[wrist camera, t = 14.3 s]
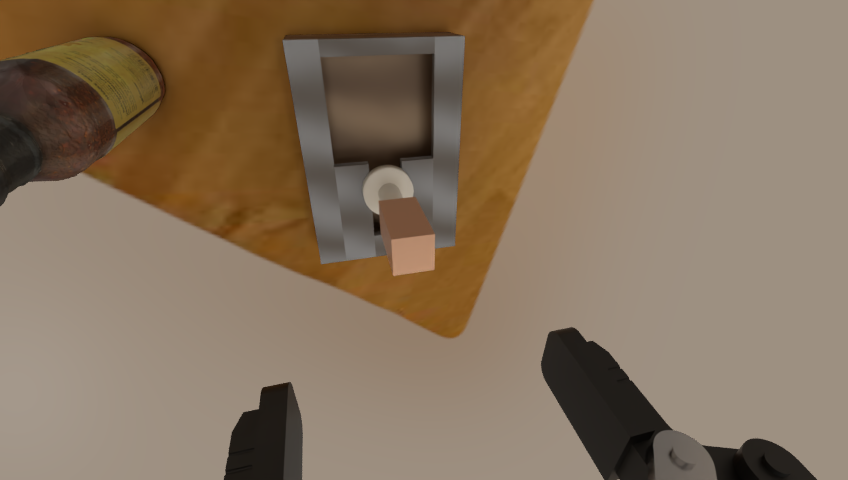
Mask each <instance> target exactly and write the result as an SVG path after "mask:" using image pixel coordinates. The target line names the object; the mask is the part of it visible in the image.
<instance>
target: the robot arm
mask: <svg viewBox="0 0 848 480" xmlns="http://www.w3.org/2000/svg"><path fill="white" fill-rule="evenodd" d="M541 368H542V373H543V376H544V378H545V381H546V382H547V384H548V386H549V388H550V389H551V391H552V393H553V394H554V396H555V397H556V399H557V401H558V403H559V404H560V406H561V408H562V409H563V411H564V413H565V414H566V416H567V418H568V420H569V421H570V423H571V425H572V426H573V428H574V430H575V431H576V433H577V434H578V436H579V438H580V440H581V441H582V443H583V445H584V446H585V448H586V450H587V451H588V453H589V455H590V456H591V458H592V460H593V461H594V463H595V465H596V467H597V468H598V470H599V472H600V473H601V475H602V476H603V478H604V480H617V479H620V480H817V479H816V478H815V477H814V476H813V475H812V474H811V473H810V472H809V471H808V470H807V469H806V468H805V467H804V466H803V465H802V463H800V461H799V460H797V459H796V458H795V457H794V456H793V455H792V454H791V453H790V452H788V451H786V450H785V449H784V448H782V447H780V446H779V445H777V444H775V443H773V442H770V441H767V440H763V439H750V440H747V441H746V442H745V443H744V444H743V445H742V446H741V448H740V449H731V448H721V447H711V446H703V445H701V444H700V443H698V442H697V441H696V440H695V439H693V438H691V437H690V436H688V435H686V434H684V433H681V432H678V431H673V430H672V429H671V428H670V427H669V426H668V425H667V424H666V422H665V421H664V420H663V419H662V417H661V416H660V415H659V414H658V413H657V411H656V410H655V409H654V408H653V406H652V405H651V404H650V403H649V402H648V400H647V399H646V398H645V397H644V395H643V394H642V393H641V392H640V391H639V389H638V388H637V387H636V386H635V384H634V383H633V382H632V381H630V380H629V377H628V376H627V374H626V373H625V372H624V371H623V370H622V369H620V367H619V365H618V363H617V362H616V361H615V360H614V358H613V357H612V356H611V355H610V353H609V352H607V351H606V350H605V349H603V348H602V347H600V346H599V345H598V344H596V343H595V342H593V341H589V342H586V340H585V339H584V338H583V337H582V335H581V334H580V333H579V331H578V330H576V329H575V328H572V327H571V328H566V329H561V330H556V331H551V332H550V333H549V334H548V338H547V341H546V345H545V350H544V353H543V357H542V361H541ZM302 434H303V433H302V420H301V414H300V410H299V407H298V403H297V400H296V397H295V393H294V390H293V387H292V384H291V382H288V383H283V384H278V385H273V386H268V387H263V388H262V391H261V396H260V405H259V409H258V410H253V411H248V412H244V413H243V414H242V416H241V417H240V419H239V421H238V423H237V425H236V426H235V428H234V430H233V432H232V435H231V441H230V447H229V457H228V459H227V464H226V470H225V471H226V475H225V476H224V480H302V438H303V437H302V436H303V435H302Z"/></svg>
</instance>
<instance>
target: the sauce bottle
mask: <svg viewBox="0 0 848 480" xmlns="http://www.w3.org/2000/svg"><path fill="white" fill-rule="evenodd" d="M164 92H165V88H164V81H163V79H162V75H161V74H160V72H159V70H158V68H157V67H156V65H155V63H154V62H153V60H152V59H151V58H150V57H149V56H148V55H146V54H145V53H144V52H143V51H142V50H140V49H138V48H137V47H136V46H134V45H132V44H130V43H128V42H126V41H124V40H121V39H117V38H113V37H104V38H102V37H88V38H82V39H78V40H75V41H71V42H67V43H63V44H59V45H56V46H52V47H48V48H44V49H40V50H36V51H34V52H31V53H26V54H23V55H19V56H16V57H12V58H6V59H4V60H1V61H0V206H1V205H2V204H3V203H4V202H5V199H6V198H7V195H8V193H10V192H12V191H13V190H14V189H16V188H17V187H19V186H23V185H25V184H26V183H28V182H33V181H59V180H64V179H67V178H70V177H74V176H76V175H77V174H79V173H80V172H82V171H84V170H85V169H87V168H88V167H89V166H90V165H91V164H92V163H94V162H95V161H96V160H98V159H101V158H102V157H104V156H105V155H106V154H108V153H109V152H110V151H111V150H112V149H113V148H114V147H116V146H117V145H118V144H119V143H120V142H121V141H123V140H124V139H125V138H126V137H127V136H129V135H130V134H131V133H132V132H133V131H134V130H136V129H137V128H138V127H139V126H140V125H141V124H143V123H144V122H145V121H146V120H147V119H148V118H150V117H151V116H152V115H153V114H154V113H155V112H156V110H157V109H158V107H159V105H160V103H161V101H162V98H163V96H164Z"/></svg>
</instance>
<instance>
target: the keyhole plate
mask: <svg viewBox="0 0 848 480" xmlns="http://www.w3.org/2000/svg"><path fill="white" fill-rule="evenodd" d="M283 46H284V52H285V58H286V63H287V69H288V75H289V81H290V86H291V92H292V98H293V104H294V109H295V115H296V121H297V127H298V132H299V138H300V144H301V150H302V155H303V161H304V167H305V173H306V179H307V184H308V190H309V196H310V202H311V207H312V213H313V219H314V225H315V230H316V236H317V242H318V248H319V253H320V259H321V264H326V263H333V262H340V261H347V260H355V259H362V258H369V257H377V256H384V255H387V253H386V250H385V246H384V243H383V239H382V236H381V231H380V216H379V214H376V213H374V212H373V211H372V210H370V209H369V208H368V206H367V205H366V203H365V200H364V196H363V192H362V186H363V181H364V179H365V177H366V176H367V174H368V173H369V172H370V171H371V170H373V169H374V168H376V167H378V166H382V165H394V166H397V167H399V168H401V169H403V170H404V171H405V172H406V173H407V175H408V176H409V178H410V180H411V182H412V184H413V188H414V194H413V197H416V199H417V201H418V203H419V205H420V206H421V208H422V210H423V212H424V214H425V216H426V218H427V220H428V222H429V224H430V225H431V227H432V229H433V231H434V233H435V248H442V247H449V246H455V230H456V210H457V189H458V169H459V148H460V128H461V107H462V87H463V66H464V46H465V36H462V35H458V34H454V33H450V32H425V33H374V34H324V35H286V36H285V37H284V39H283Z"/></svg>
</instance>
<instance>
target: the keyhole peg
mask: <svg viewBox="0 0 848 480" xmlns="http://www.w3.org/2000/svg"><path fill="white" fill-rule="evenodd" d="M362 192H363V196H364V200H365V203H366V205H367V206H368V208H369V209H370V210H372V211H373V212H374V213H376V214H379V216H380V231H381V236H382V239H383V243H384V246H385V250H386V253H387V256H388V260H389V263H390V266H391V270H392V273H393V276H396V275H402V274H409V273H416V272H423V271H429V270H434V265H435V233H434V231H433V229H432V227H431V225H430V224H429V222H428V220H427V218H426V216H425V214H424V212H423V210H422V208H421V206H420V205H419V203H418V201H417V199H416V197H413V194H414V188H413V184H412V182H411V180H410V178H409V176H408V175H407V173H406V172H405V171H404V170H403V169H401V168H399V167H397V166H394V165H382V166H378V167H376V168H374V169H373V170H371V171H370V172H369V173H368V174H367V176H366V177H365V179H364V181H363V186H362Z"/></svg>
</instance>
